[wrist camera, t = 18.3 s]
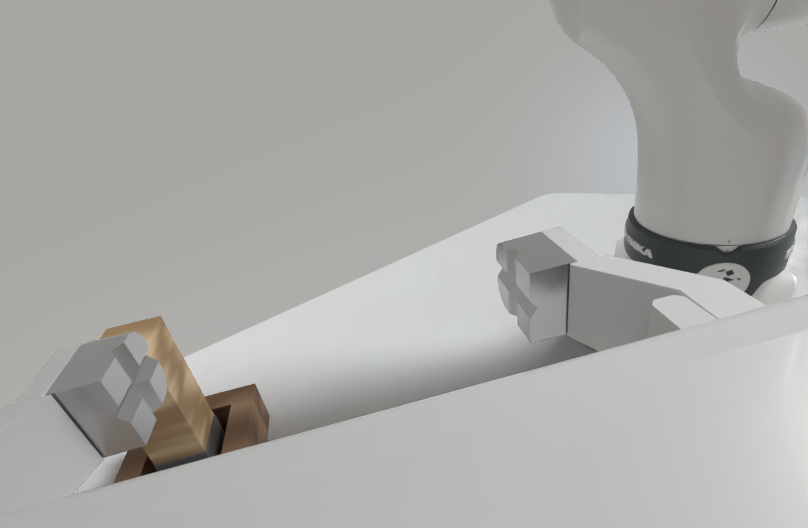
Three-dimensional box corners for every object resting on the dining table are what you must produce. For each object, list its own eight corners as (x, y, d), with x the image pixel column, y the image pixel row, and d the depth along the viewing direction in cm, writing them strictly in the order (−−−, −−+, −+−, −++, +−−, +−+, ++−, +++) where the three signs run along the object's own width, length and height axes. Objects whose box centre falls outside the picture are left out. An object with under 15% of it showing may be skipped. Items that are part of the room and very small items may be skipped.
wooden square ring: (259, 513, 35) (241, 479, 33) (126, 552, 34) (98, 519, 32) (269, 415, 44) (254, 383, 42) (164, 443, 43) (144, 412, 41)
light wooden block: (227, 489, 38) (144, 348, 30) (179, 502, 37) (82, 364, 29) (234, 449, 41) (161, 315, 33) (190, 461, 41) (106, 328, 33)
